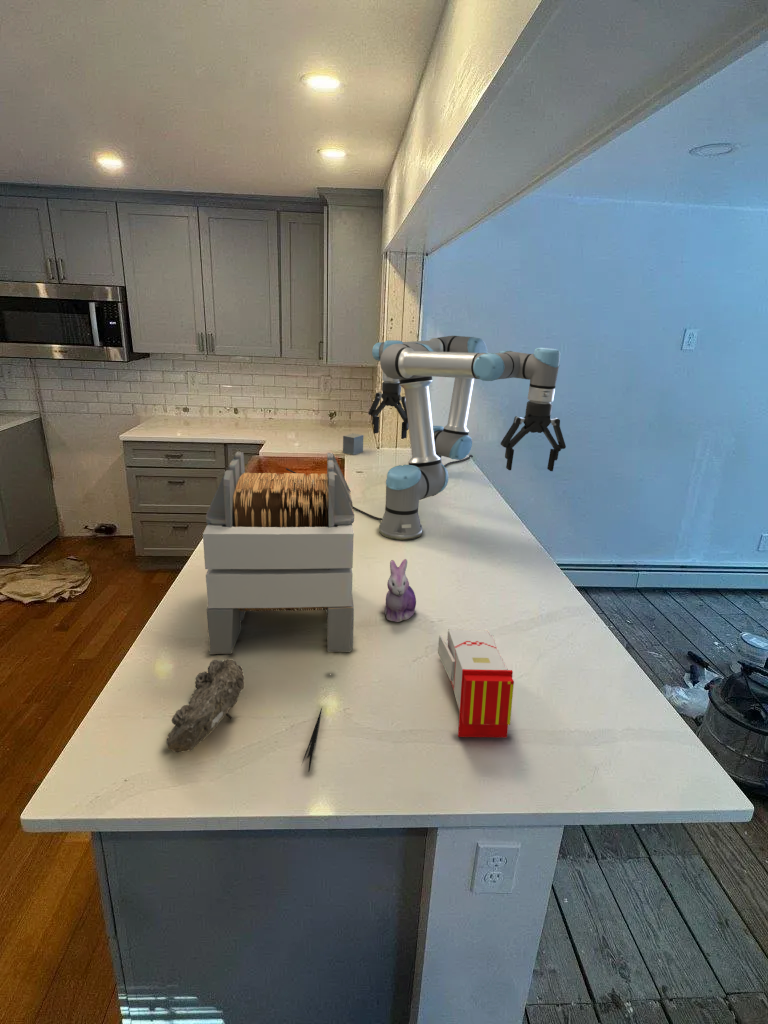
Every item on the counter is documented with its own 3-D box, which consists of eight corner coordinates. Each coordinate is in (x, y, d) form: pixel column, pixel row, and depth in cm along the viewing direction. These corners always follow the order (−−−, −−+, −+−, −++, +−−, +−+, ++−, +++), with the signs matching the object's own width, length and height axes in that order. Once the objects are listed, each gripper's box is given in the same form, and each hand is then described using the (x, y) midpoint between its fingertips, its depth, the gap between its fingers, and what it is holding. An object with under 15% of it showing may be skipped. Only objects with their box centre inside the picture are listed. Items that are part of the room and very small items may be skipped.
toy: (488, 613, 130) (523, 677, 101) (484, 667, 133) (517, 744, 104) (435, 612, 130) (455, 676, 101) (432, 666, 133) (451, 743, 103)
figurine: (392, 627, 141) (395, 572, 136) (374, 608, 149) (376, 556, 144) (425, 619, 145) (429, 566, 140) (405, 601, 154) (408, 550, 149)
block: (342, 452, 307) (343, 435, 303) (352, 449, 314) (352, 433, 311) (353, 454, 303) (353, 437, 300) (363, 451, 311) (363, 435, 308)
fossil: (192, 660, 117) (244, 628, 112) (224, 691, 120) (276, 661, 115) (142, 746, 98) (202, 712, 93) (182, 779, 101) (242, 748, 96)
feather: (331, 679, 122) (336, 673, 122) (307, 777, 96) (313, 769, 95) (324, 675, 122) (329, 669, 121) (298, 772, 95) (304, 764, 95)
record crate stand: (229, 585, 158) (221, 442, 144) (346, 584, 161) (350, 444, 148) (206, 656, 126) (193, 481, 112) (353, 652, 130) (358, 483, 116)
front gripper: (504, 402, 165) (494, 472, 173) (584, 405, 168) (572, 473, 176) (496, 398, 172) (487, 465, 180) (573, 401, 175) (562, 467, 183)
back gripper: (360, 379, 224) (359, 432, 231) (413, 386, 211) (410, 442, 218) (371, 377, 230) (370, 429, 237) (424, 384, 217) (421, 438, 224)
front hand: (529, 469), depth 178 cm, fingers open, 13 cm apart
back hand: (389, 435), depth 228 cm, fingers open, 13 cm apart
